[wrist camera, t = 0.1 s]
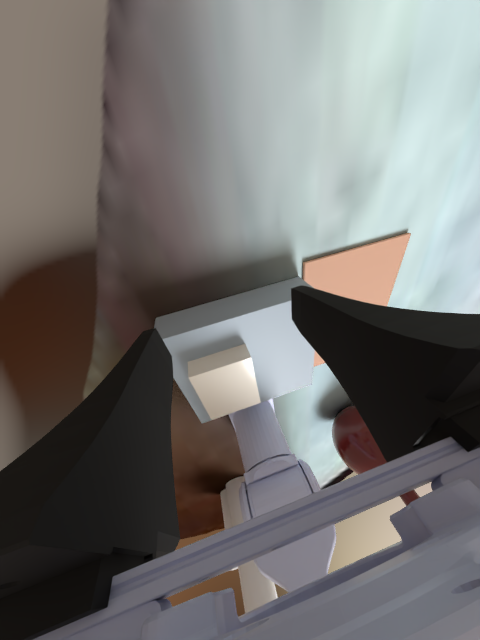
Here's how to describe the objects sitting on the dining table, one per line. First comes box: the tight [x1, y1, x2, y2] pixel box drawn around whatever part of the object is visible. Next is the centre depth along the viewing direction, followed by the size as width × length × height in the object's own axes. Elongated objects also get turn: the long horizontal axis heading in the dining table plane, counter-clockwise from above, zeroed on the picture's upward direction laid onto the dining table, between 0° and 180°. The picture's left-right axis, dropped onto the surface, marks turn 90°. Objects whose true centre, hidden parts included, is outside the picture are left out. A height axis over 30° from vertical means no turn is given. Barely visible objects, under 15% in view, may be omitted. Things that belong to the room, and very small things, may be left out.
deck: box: [154, 277, 315, 423], centre depth 24 cm, size 15×16×4 cm
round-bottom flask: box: [332, 406, 420, 506], centre depth 37 cm, size 13×13×20 cm
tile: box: [188, 344, 261, 420], centre depth 21 cm, size 8×6×2 cm
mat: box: [303, 233, 411, 367], centre depth 27 cm, size 18×13×1 cm
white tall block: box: [220, 476, 278, 613], centre depth 46 cm, size 11×7×20 cm, turn 162°
